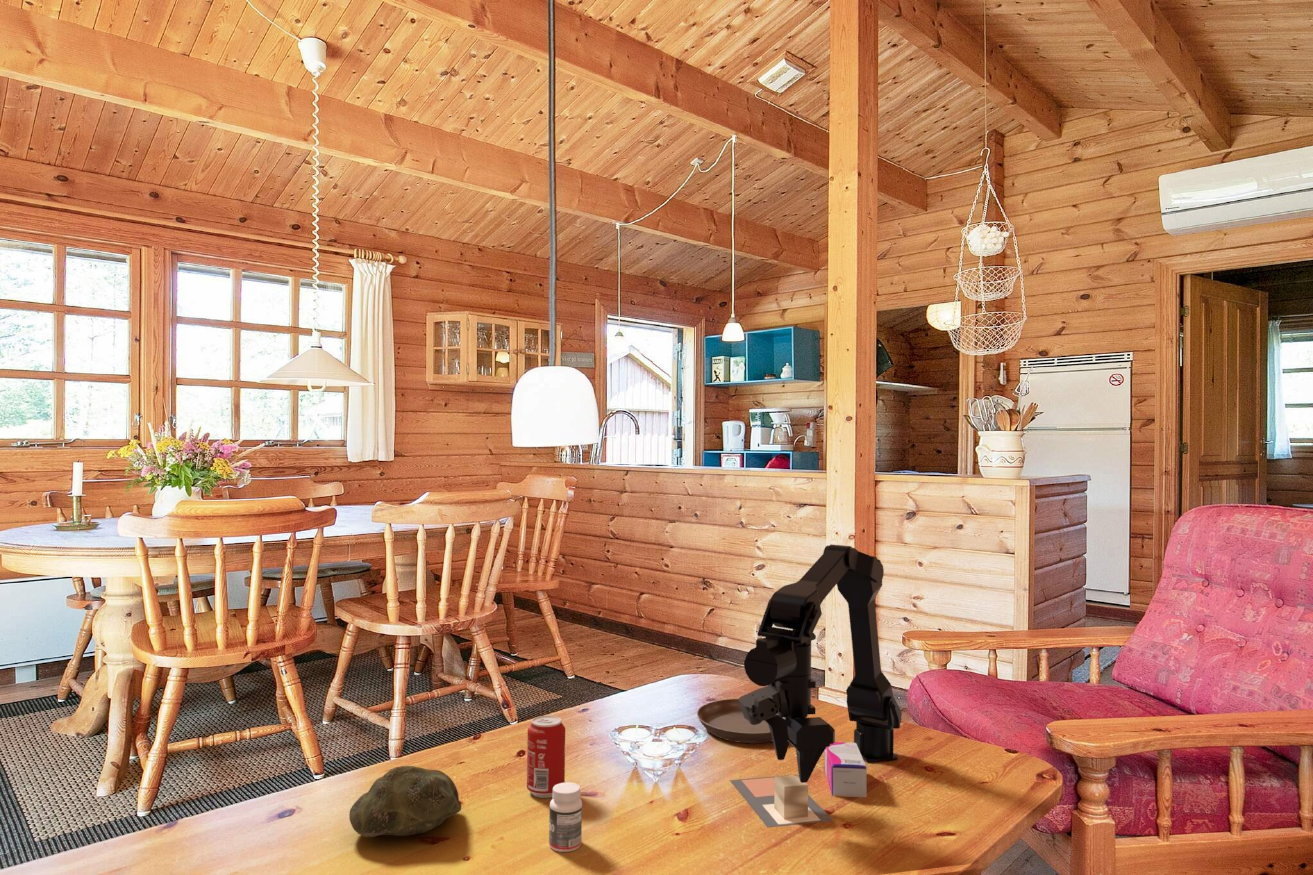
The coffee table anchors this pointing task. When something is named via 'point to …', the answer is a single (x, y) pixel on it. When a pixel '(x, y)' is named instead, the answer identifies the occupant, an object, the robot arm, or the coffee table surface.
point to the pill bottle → (565, 818)
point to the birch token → (791, 797)
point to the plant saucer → (732, 722)
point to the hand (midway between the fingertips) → (791, 770)
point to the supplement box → (845, 770)
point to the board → (762, 802)
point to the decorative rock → (405, 803)
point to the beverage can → (545, 755)
